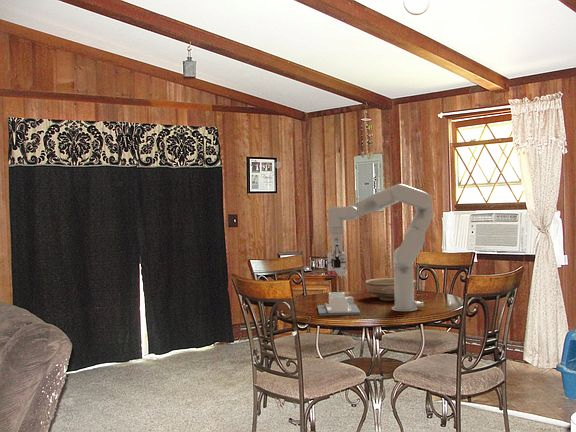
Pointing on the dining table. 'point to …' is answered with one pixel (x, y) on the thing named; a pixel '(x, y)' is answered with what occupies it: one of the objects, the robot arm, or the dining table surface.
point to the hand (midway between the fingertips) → (336, 266)
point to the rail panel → (324, 310)
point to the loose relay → (350, 300)
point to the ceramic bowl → (382, 288)
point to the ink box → (331, 269)
